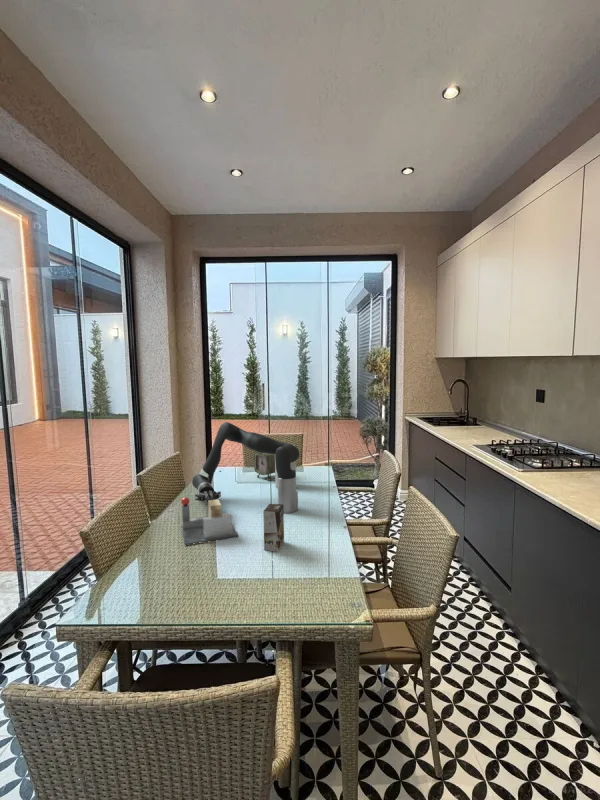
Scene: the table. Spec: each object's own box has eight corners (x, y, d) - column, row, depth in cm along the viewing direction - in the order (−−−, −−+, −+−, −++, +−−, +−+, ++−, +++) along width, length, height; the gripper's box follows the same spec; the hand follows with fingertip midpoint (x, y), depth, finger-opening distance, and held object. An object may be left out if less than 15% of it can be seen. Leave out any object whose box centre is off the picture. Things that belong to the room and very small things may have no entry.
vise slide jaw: (228, 519, 185) (227, 491, 184) (230, 521, 182) (229, 493, 181) (181, 526, 178) (180, 496, 177) (182, 529, 174) (181, 499, 173)
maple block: (219, 524, 179) (218, 499, 178) (221, 531, 172) (221, 504, 171) (209, 526, 177) (208, 500, 176) (211, 533, 170) (210, 506, 169)
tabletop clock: (254, 477, 259) (253, 440, 257) (265, 474, 265) (264, 438, 263) (267, 482, 249) (266, 443, 247) (278, 479, 255) (278, 441, 253)
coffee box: (279, 551, 154) (278, 511, 153) (263, 550, 155) (262, 510, 154) (284, 541, 163) (284, 503, 162) (269, 540, 164) (269, 502, 163)
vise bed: (229, 520, 187) (228, 501, 186) (238, 537, 168) (237, 516, 167) (181, 527, 179) (180, 508, 178) (184, 545, 160) (183, 524, 159)
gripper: (192, 485, 199) (195, 495, 183) (218, 482, 204) (224, 491, 188) (192, 499, 200) (196, 510, 184) (219, 496, 205) (225, 506, 188)
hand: (210, 501), depth 186 cm, fingers closed
